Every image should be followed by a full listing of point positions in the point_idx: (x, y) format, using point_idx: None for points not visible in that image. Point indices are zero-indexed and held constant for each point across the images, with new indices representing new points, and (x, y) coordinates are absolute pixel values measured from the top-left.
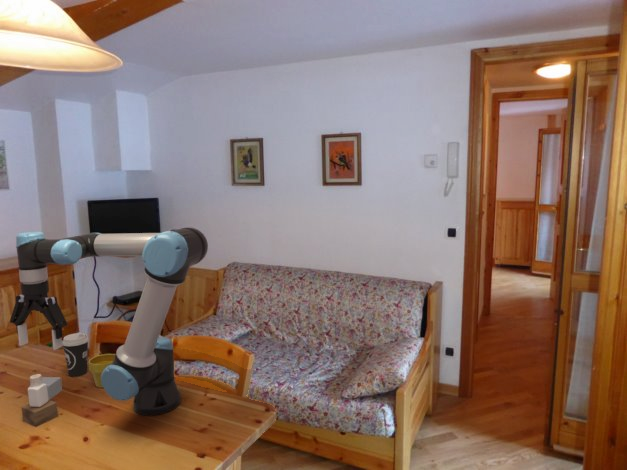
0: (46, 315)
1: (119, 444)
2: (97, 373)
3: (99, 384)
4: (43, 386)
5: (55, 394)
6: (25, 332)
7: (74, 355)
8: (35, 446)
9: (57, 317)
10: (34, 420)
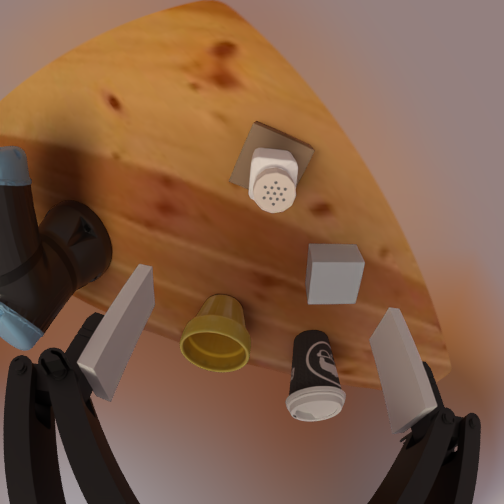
0: (99, 496)
1: (58, 109)
2: (215, 314)
3: (221, 298)
4: (249, 182)
5: (307, 263)
6: (388, 382)
7: (308, 368)
8: (198, 52)
9: (4, 428)
10: (259, 123)
